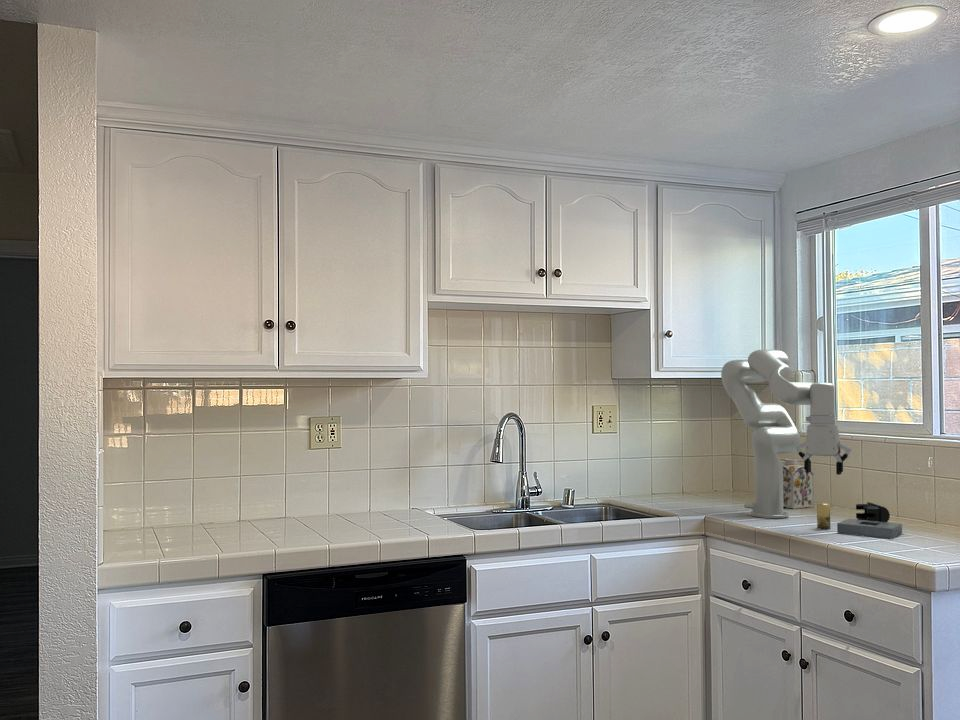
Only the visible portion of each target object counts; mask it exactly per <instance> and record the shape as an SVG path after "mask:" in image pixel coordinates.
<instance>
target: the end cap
mask: <svg viewBox="0 0 960 720" xmlns="http://www.w3.org/2000/svg"><path fill="white" fill-rule="evenodd" d="M855 510H856V511H857V510H859V511H861V510H863V511H864V512H863V513H861V512H857V513H855V517H856V518H855V519H858V520H868V521H879V522H889V520H890V519H891V516H890V515H891V514H890V511H889V509H888V508H886V507H885V506H882V505H880V504H876V503H874V502H873V503H872V502H868V501H867V502H866V503H857V504H856V505H855Z"/></svg>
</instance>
